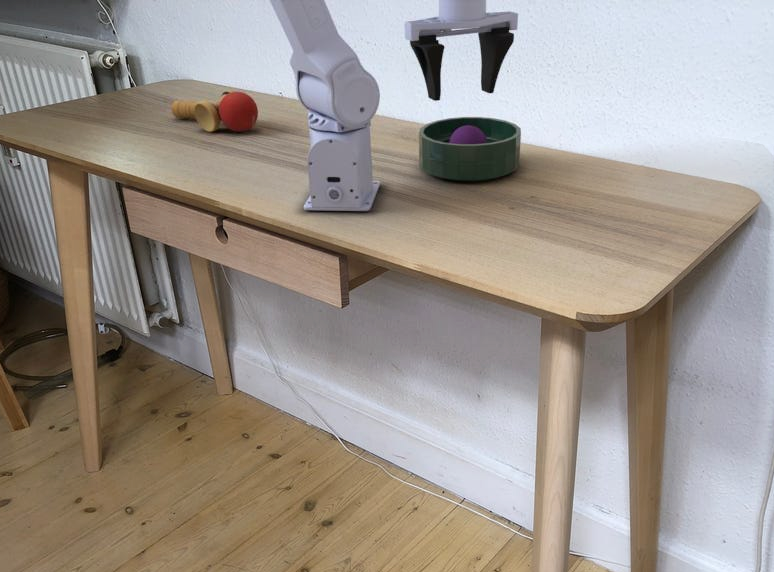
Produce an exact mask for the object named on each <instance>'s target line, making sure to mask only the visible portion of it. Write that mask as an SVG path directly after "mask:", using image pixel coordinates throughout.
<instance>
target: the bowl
mask: <svg viewBox="0 0 774 572" xmlns="http://www.w3.org/2000/svg"><path fill="white" fill-rule="evenodd" d="M466 125H471V126H475V127H477V128H479V129H480V130H481V131H482V132H483V133H484V135H485V137H486V140H487V143H485V144H452V143H449V141H450V138H451V136H452V134H453V133H454V132H455V131H456V130H457V129H458V128H460V127H462V126H466ZM521 140H522V128H521V127H519V125H517V124H516V123H513V122H511V121H508V120H505V119H499V118H494V117H483V116H459V117H449V118H444V119H443V118H442V119H438V120H434V121H431V122H429V123H426V124H424V125H423V126H422V127H420V128H419V132H418V163H419V164H418V165H419V167H420V169H421V170H422V171H423V172H425V173H427V174H429V175H431V176H434V177H438V178H441V179H444V180H449V181H454V182H455V181H456V182H483V181H489V180H494V179H497V178H499V177H505V176H508V175H509V174H511V173H513V172H515V171H516V170H517V169H518V168H519V167H520V161H521V160H520V158H521Z"/></svg>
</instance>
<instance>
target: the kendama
mask: <svg viewBox="0 0 774 572" xmlns="http://www.w3.org/2000/svg"><path fill="white" fill-rule="evenodd" d="M257 105H258V104H257V103H256V102H255V99H254V98H252V97H251V96H250V95H249V94H247V93H246V92H243V91H235V90H234V89H227V90H224V91H223V92H222V94H221V96H220V99H219V100H217V101H216V102H213V103H212V102H210V101H208V100H205V99H202V100H199V101H191V100H190V101H189V100H183V99H176V100H174V101H173V103H172V104H171V113H172V115H173V116H174V117H175V119H178V120H180V119H190V118H195V120H196V121H197V123H198V125H199V126H200V127H201V128H202V129H203V130H205V132H208V133H212V132H215V131H217V130H219V128H220V127H221V122H222V124H223V125H224V126H225V127H226V128H227V129H229V130H231V131H232V132H238V133H241V132H243V133H244V132H246V131H250V130H251V129H253V127H254V126H255V125H256V123H257V120H258V117H259V109H258V106H257Z"/></svg>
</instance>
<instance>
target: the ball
mask: <svg viewBox="0 0 774 572" xmlns="http://www.w3.org/2000/svg"><path fill="white" fill-rule="evenodd" d="M449 143H452V144H485V143H487V140H486V137H485V135H484V133H483V132H482V131H481V130H480V129H479V128H477V127H475V126H471V125H466V126H462V127H460V128H458V129H457V130H456V131H455V132H454V133H453V134H452V136H451V138H450V141H449Z"/></svg>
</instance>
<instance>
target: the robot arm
mask: <svg viewBox="0 0 774 572" xmlns="http://www.w3.org/2000/svg"><path fill="white" fill-rule="evenodd" d="M269 2H270V5H271V6H272V8H273V11H274V12H275V15H276V17H277V19H278V21H279V24H280V26H281V28H282V30H283V32H284V34H285V36H286V38H287V40H288V42H289V45H290V46H291V49H292V53H291V57H290V59H289V65H290V67H291V68H292V72H293V74H294V79H295V92H296V93H295V94H296V97H297V99H298V101H299V103H300V104H301V105H302V106H303V107H304V108H305V109H306V110H307V119H308V120H307V123H308V135H309V141H310V142H309V143H310V149H309V151H308V154H307V159H306V163H307V173H308V174H307V175H308V183H309V184H308V186H309V194H310V195H309V197H308V198H307V199H306V201H305V203H304V205H303V210H304V211H323V212H324V211H327V212H328V211H329V212H330V211H331V212H335V211H336V212H369V211H370V210H371V209H372V206H373V204H374V201H375V199H376V196H377V194H378V191H379V188H380V186H381V181H380V180H374V179H373V178H374V177H373V160H372V159H373V158H372V157H373V156H372V141H371V140H372V139H371V126H372V119H373V118H374V116H375V115H376V113H377V111H378V108H379V106H380V100H381V92H380V88H379V87H380V86H379V84H378V81H377V80H376V78H375V77H374V76H373V74H371V73H370V72H369V71H367V70H366V69H365V67H364V66H363V65H362V63H361V60H360V58H359V55H358V54H357V53H356V51H354V49H353V48H352V47H351V46H350V45H349V44H348V43H347V42H346V40H345V39H344V38H343V37H342V36H341V35H340V34H339V31H338V29H337V26H336V24H335V22H334V20H333V17H332V15H331V13H330V10H329V8H328V6H327V3H326V0H269ZM518 21H519V13H518V12H515V11H510V10H509V11H498V12H497V11H496V12H495V11H494V12H487V0H438V16H433V17H427V18H423V19H422V18H421V19H416V20H410V21H408V20H407V21H404V39H405V40H408V41H409V44H410V45H409V46H410V47H411V49H412V52H413V53H414V55H415V57H416V59H417V61H418V64H419V67H420V70H421V72H422V75H423V78H424V83H425V86H426V91H427V96H428V98H429V99H430V100H432V101H434V102H438V101H441V97H442V96H441V95H442V78H441V77H442V75H441V74H442V63H443V58H444V53H445V52H444V51H445V45H444V44H442V43H440V41H439V40H440V39H437V38H442V37H443V38H444V37H451V36H452V37H453V36H463V35H471V34H477V35H478V42H479V48H480V59H481V60H480V63H481V68H480V69H481V70H480V72H481V73H480V87H481V91H482V92H484V93H487V94H494V93H495V88H496V84H497V80H498V77H499V73H500V70H501V68H502V66H503V62H504V60H505V58H506V56H507V54H508V52H509V50H510V48H511V47H512V46H513V44H514V40H515V34H514V33H513V32H510V31H517V30H518Z"/></svg>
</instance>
